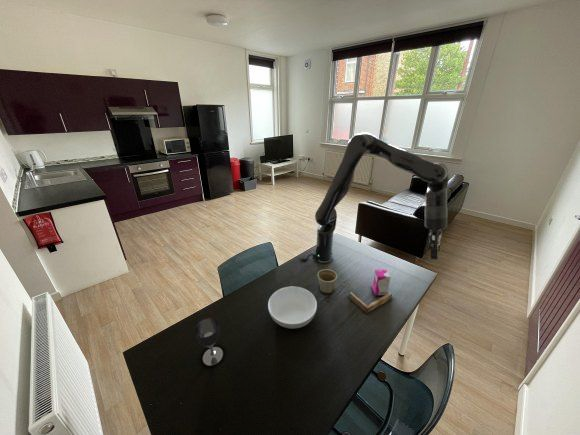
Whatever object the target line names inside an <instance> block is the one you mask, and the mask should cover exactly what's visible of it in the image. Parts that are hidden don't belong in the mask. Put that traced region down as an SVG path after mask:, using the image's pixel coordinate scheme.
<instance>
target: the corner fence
mask: <svg viewBox="0 0 580 435" xmlns="http://www.w3.org/2000/svg"><path fill="white" fill-rule="evenodd" d="M392 297H393V293H392V292H389V293H387V295H385V296H381V297H380V298H378V299H376V300H375V301H373V302H371V303H370V304H366V302H365V301H363V300H361V298H360V297H358V296H357V295H356V294H354V293H353V292H350V293H349V298H348V299H350V300H351V301H352V302H353V303H354V304H355V305H357V307H359V309H361V310H362V311H363V312H364V313H366V314H368V313H370V312H371V311H374V310H375V309H377V308H378V307H380V306H382V305H383V304H385V303H387V302H388V301H390V300H391V299H392Z"/></svg>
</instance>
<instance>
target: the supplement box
mask: <svg viewBox="0 0 580 435" xmlns="http://www.w3.org/2000/svg"><path fill="white" fill-rule="evenodd" d="M390 280H391V275H390V273H389V270H388V269H376V268H375V269H374V274H373V280H372V285H371V287H372V291H373V295H374V296H375V297H383V296H385V295H387V294H389V293H388V292H389V287H390V282H391V281H390Z"/></svg>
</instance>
